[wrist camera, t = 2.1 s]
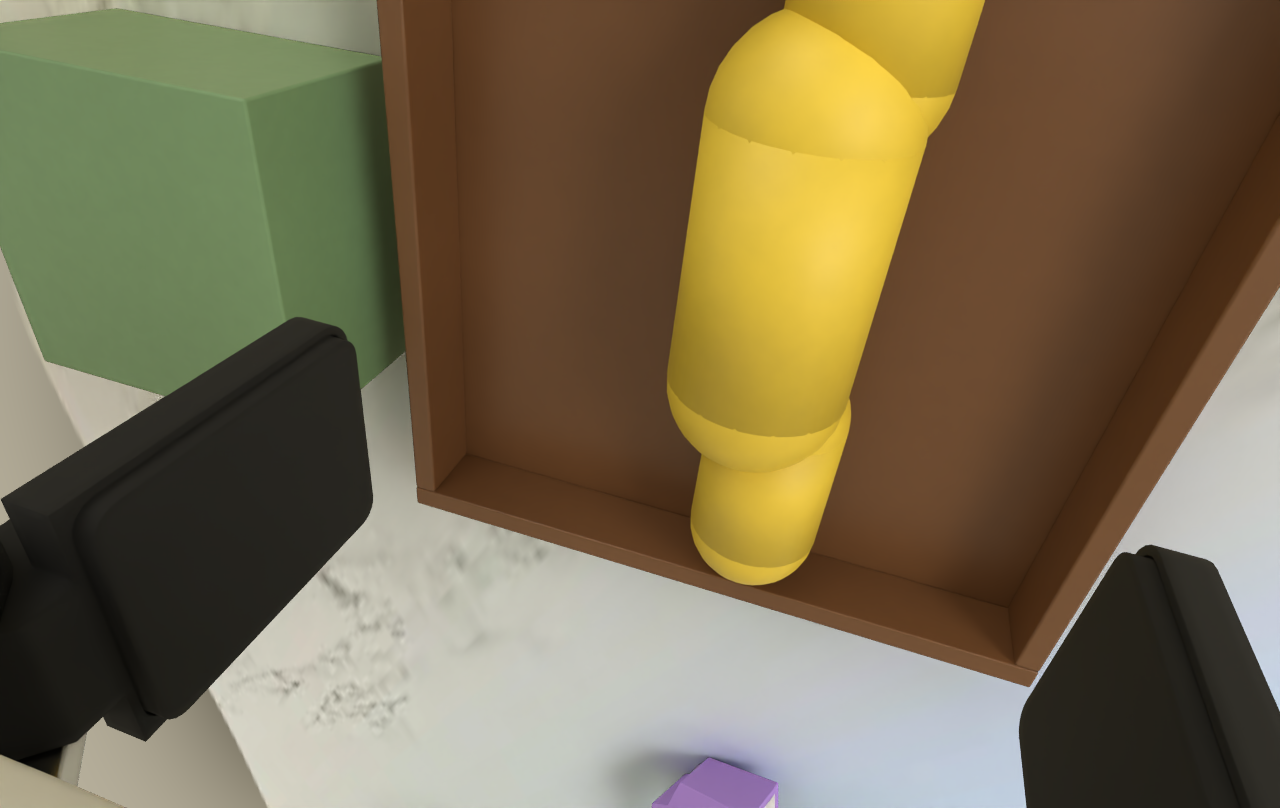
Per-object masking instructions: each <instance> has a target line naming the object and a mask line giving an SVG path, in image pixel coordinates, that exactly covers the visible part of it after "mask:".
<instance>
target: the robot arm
mask: <svg viewBox="0 0 1280 808" xmlns="http://www.w3.org/2000/svg"><path fill="white" fill-rule="evenodd" d="M1 501H2V503H3V505H4V507H5V510H6V512H7V514H8V516H9V518H10V520H8V521H7V522H5V523H4V524H2V525H1V526H0V808H125V807H123V806H121V805H118V804H116V803H114V802H112V801H109V800H107V799H105V798H102V797H100V796H98V795H95V794H93V793H91V792H88V791H86V790H84V789H81V788H79V787H77V785H78V780H79V774H80V768H81V763H82V756H83V752H84V746H85V741H86V735H87V732H88V731H89V730H90V729H91V728H92V727H93V726H94V725H95V724H96V723H97V722H98V721H99V720H100V719H101V718H102V717H104V720H105V722H106V724H107V726H110V727H112V728H114V729H117V730H119V731H122V732H124V733H126V734H129V735H131V736H133V737H136V738H138V739H141V740H143V741H147V740H148V739H149V738H150V737H151V736H152V734H153V733H154V732H155V731H156V730H157V729H158V728H159V727H160V726H161V725H162V724H163V723H164V722H165V721H166V720H167V719H173V718H177V717H178V716H180V715H182V714H183V713H185V712H186V711H187V710H188V709H189V708H190V707H191V706H192V705H193V704H194V703H195V702H196V701H197V700H198V699H199V697H200V696H201V695H202V694H203V693H204V692H205V691H206V690H207V689H208V688H209V687H210V686H211V685H212V684H213V683H214V682H215V680H216V679H217V678H218V677H219V676H220V675H221V674H222V673H223V672H224V671H225V670H226V669H227V668H228V667H229V666H230V665H231V663H232V662H233V661H234V660H235V659H236V658H237V657H238V656H239V655H240V654H241V653H242V652H243V651H244V650H245V649H246V648H247V646H248V645H249V644H250V643H251V642H252V641H253V640H254V639H255V638H256V637H257V636H258V635H259V634H260V633H261V632H262V631H263V629H264V628H265V627H266V626H267V625H268V624H269V623H270V622H271V621H272V620H273V619H274V618H275V617H276V616H277V615H278V614H279V612H280V611H281V610H282V609H283V608H284V607H285V606H286V605H287V604H288V603H289V602H290V601H291V600H292V599H293V598H294V597H295V595H296V594H297V593H298V592H299V591H300V590H301V589H302V588H303V587H304V586H305V585H306V584H307V583H308V582H309V581H310V580H311V578H312V577H313V576H314V575H315V574H316V573H317V572H318V571H319V570H320V569H321V568H322V567H323V566H324V565H325V564H326V563H327V561H328V560H329V559H330V558H331V557H332V556H333V555H334V554H335V553H336V552H337V551H338V550H339V549H340V548H341V547H342V546H343V544H344V543H345V542H346V541H347V540H348V539H349V538H350V537H351V536H352V535H353V534H354V533H355V532H356V531H357V530H358V529H359V527H360V526H361V525H362V524H363V523H364V522H365V520H366V519H367V517H368V515H369V513H370V511H371V508H372V503H373V492H372V483H371V474H370V466H369V457H368V449H367V440H366V432H365V423H364V415H363V406H362V398H361V389H360V381H359V372H358V363H357V355H356V350H355V347H354V345H353V344H352V343H351V342H349V341H348V340H347V336H346V334H345V333H344V331H343V330H342V329H340V328H339V327H337V326H333V325H330V324H326V323H322V322H318V321H315V320H311V319H307V318H304V317H294V318H292V319H289V320H287V321H286V322H284V323H283V324H281V325H279V326H278V327H276V328H275V329H273V330H271V331H270V332H268V333H267V334H265V335H263V336H262V337H260V338H259V339H257V340H255V341H254V342H252V343H251V344H249V345H247V346H246V347H244V348H243V349H241V350H239V351H238V352H236V353H234V354H233V355H231V356H230V357H228V358H226V359H225V360H223V361H222V362H220V363H218V364H217V365H215V366H214V367H212V368H210V369H209V370H207V371H206V372H204V373H202V374H201V375H199V376H198V377H196V378H194V379H193V380H191V381H190V382H188V383H186V384H185V385H183V386H182V387H180V388H178V389H177V390H175V391H173V392H172V393H170V394H169V395H167V396H165V397H164V398H162V399H161V400H159V401H157V402H156V403H154V404H153V405H151V406H149V407H148V408H146V409H145V410H143V411H141V412H140V413H138V414H137V415H135V416H133V417H132V418H130V419H129V420H127V421H125V422H124V423H122V424H121V425H119V426H117V427H116V428H114V429H113V430H111V431H109V432H108V433H106V434H104V435H103V436H101V437H100V438H98V439H96V440H95V441H93V442H92V443H90V444H88V445H87V446H85V447H84V448H82V449H80V450H79V451H77V452H76V453H74V454H72V455H71V456H69V457H68V458H66V459H64V460H63V461H61V462H60V463H58V464H56V465H55V466H53V467H52V468H50V469H48V470H47V471H45V472H44V473H42V474H40V475H39V476H37V477H35V478H34V479H32V480H31V481H29V482H27V483H26V484H24V485H23V486H21V487H19V488H18V489H16V490H15V491H13V492H11V493H10V494H8V495H7V496H5V497H3V498H2V499H1ZM1019 740H1020V749H1021V759H1022V768H1023V778H1024V787H1025V797H1026V806H1027V808H1280V711H1279V709H1278V707H1277V704H1276V702H1275V700H1274V698H1273V695H1272V693H1271V691H1270V688H1269V686H1268V684H1267V682H1266V679H1265V677H1264V675H1263V672H1262V670H1261V668H1260V666H1259V663H1258V661H1257V659H1256V656H1255V654H1254V652H1253V650H1252V647H1251V645H1250V643H1249V640H1248V638H1247V636H1246V634H1245V631H1244V629H1243V627H1242V624H1241V622H1240V620H1239V618H1238V615H1237V613H1236V611H1235V609H1234V606H1233V604H1232V602H1231V599H1230V597H1229V595H1228V593H1227V590H1226V588H1225V586H1224V583H1223V581H1222V579H1221V577H1220V574H1219V572H1218V570H1217V568H1216V567H1215V565H1214V564H1213V563H1212V562H1210V561H1208V560H1206V559H1202V558H1199V557H1195V556H1191V555H1187V554H1184V553H1180V552H1176V551H1173V550H1169V549H1165V548H1161V547H1158V546H1154V545H1145V546H1144V547H1142V548H1141V549H1139V550H1138V552H1137V553H1136V554H1131V553H1128V552H1124V553H1121V554H1120V555H1118V556H1117V558H1116V559H1115V560H1114V562H1113V563H1112V565H1111V566H1110V568H1109V570H1108V571H1107V573H1106V574H1105V576H1104V578H1103V579H1102V581H1101V582H1100V584H1099V586H1098V587H1097V589H1096V590H1095V592H1094V594H1093V595H1092V597H1091V598H1090V600H1089V602H1088V603H1087V605H1086V606H1085V608H1084V610H1083V611H1082V613H1081V614H1080V616H1079V618H1078V619H1077V621H1076V622H1075V624H1074V626H1073V627H1072V629H1071V630H1070V632H1069V634H1068V635H1067V637H1066V638H1065V640H1064V642H1063V643H1062V645H1061V646H1060V648H1059V650H1058V651H1057V653H1056V655H1055V656H1054V658H1053V659H1052V661H1051V663H1050V664H1049V666H1048V667H1047V669H1046V671H1045V672H1044V674H1043V675H1042V677H1041V679H1040V680H1039V682H1038V683H1037V685H1036V687H1035V688H1034V690H1033V691H1032V693H1031V695H1030V696H1029V698H1028V699H1027V701H1026V703H1025V705H1024V707H1023V710H1022V713H1021V718H1020V724H1019Z"/></svg>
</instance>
